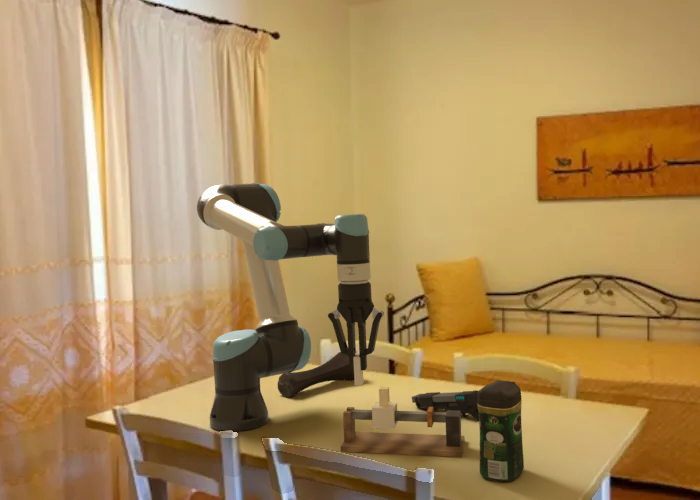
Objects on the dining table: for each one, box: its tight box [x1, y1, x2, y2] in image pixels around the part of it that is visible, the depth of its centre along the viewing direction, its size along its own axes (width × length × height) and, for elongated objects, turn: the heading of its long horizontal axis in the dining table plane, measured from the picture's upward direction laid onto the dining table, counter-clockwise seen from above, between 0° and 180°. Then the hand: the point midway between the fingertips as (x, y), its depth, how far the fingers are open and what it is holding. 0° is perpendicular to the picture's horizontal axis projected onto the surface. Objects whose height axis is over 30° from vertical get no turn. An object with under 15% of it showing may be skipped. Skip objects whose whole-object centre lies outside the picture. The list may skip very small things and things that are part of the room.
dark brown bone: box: [277, 351, 355, 399], centre depth 207 cm, size 11×10×28 cm
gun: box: [411, 390, 479, 423], centre depth 177 cm, size 4×20×10 cm, turn 47°
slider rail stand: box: [340, 406, 466, 458], centre depth 154 cm, size 27×10×9 cm, turn 77°
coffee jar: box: [477, 379, 525, 483], centre depth 136 cm, size 10×8×19 cm
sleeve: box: [371, 386, 399, 430], centre depth 155 cm, size 5×5×9 cm
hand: (359, 383), depth 155 cm, fingers closed
